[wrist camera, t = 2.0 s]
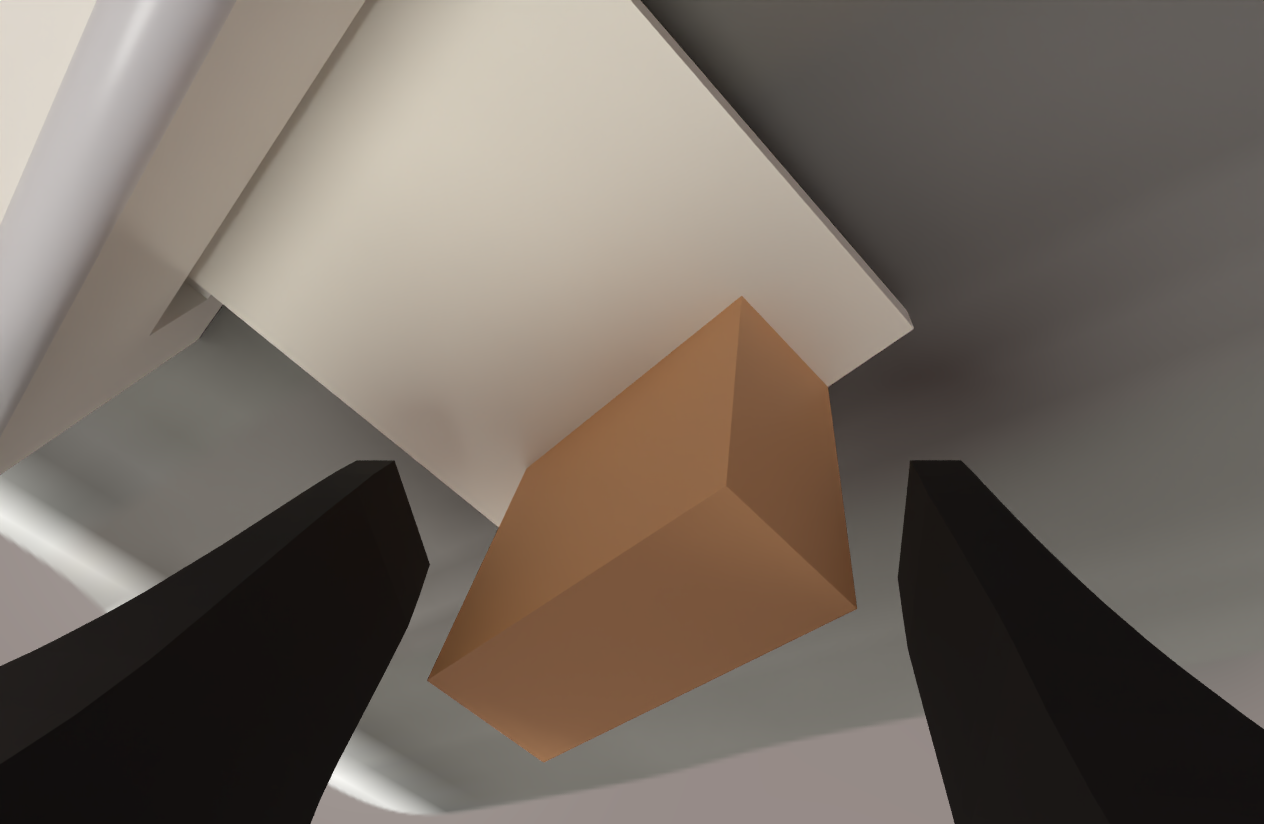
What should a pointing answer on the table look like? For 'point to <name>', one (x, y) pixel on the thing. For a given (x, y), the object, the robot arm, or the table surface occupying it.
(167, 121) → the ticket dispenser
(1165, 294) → the table surface
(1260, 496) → the table surface
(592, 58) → the cream slab with block
